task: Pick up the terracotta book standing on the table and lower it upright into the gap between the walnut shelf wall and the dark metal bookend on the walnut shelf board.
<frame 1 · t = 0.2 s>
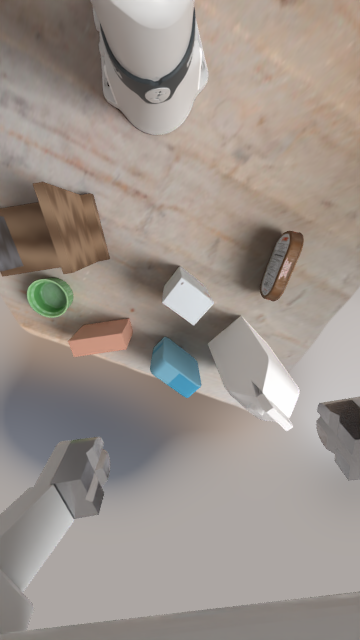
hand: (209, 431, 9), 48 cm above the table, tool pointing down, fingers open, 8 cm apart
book: (108, 328, 59), on the table
shelf stand: (52, 236, 50), on the table
tin: (271, 264, 54), on the table
milk: (238, 343, 61), on the table
ramekin: (57, 293, 55), on the table
small box: (184, 285, 55), on the table
data package: (175, 352, 62), on the table
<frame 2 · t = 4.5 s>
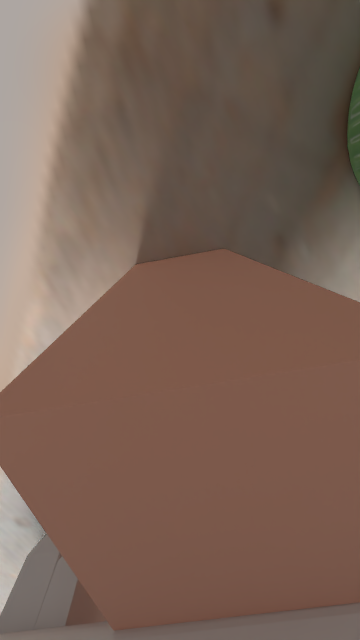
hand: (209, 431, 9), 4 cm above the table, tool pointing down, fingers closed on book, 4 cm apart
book: (198, 368, 12), on the table, touching gripper
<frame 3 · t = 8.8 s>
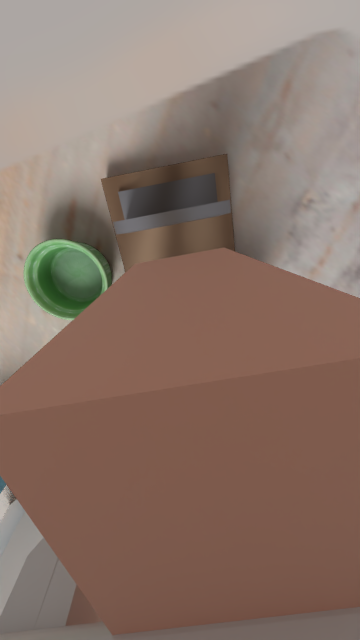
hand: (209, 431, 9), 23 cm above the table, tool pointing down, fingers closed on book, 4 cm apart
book: (198, 368, 12), point 19 cm above the table, touching gripper
shelf stand: (183, 286, 30), on the table
milk: (51, 502, 46), on the table
ramekin: (81, 274, 29), on the table
when the fingers open (7 cm above the table, at t = 13.2 s): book stays where it is, resting on shelf stand.
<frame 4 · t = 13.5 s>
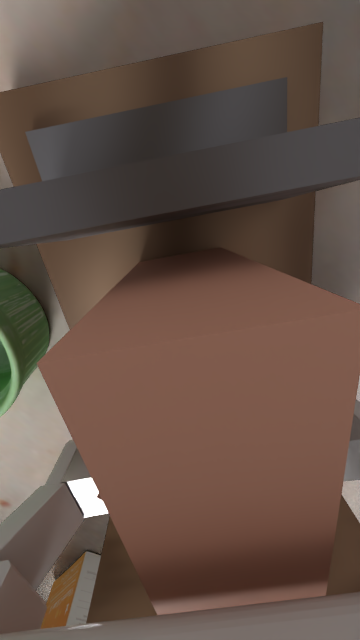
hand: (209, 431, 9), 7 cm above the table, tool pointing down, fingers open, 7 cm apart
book: (197, 359, 13), point 2 cm above the table, touching shelf stand
shelf stand: (193, 342, 15), on the table
small box: (94, 570, 26), on the table
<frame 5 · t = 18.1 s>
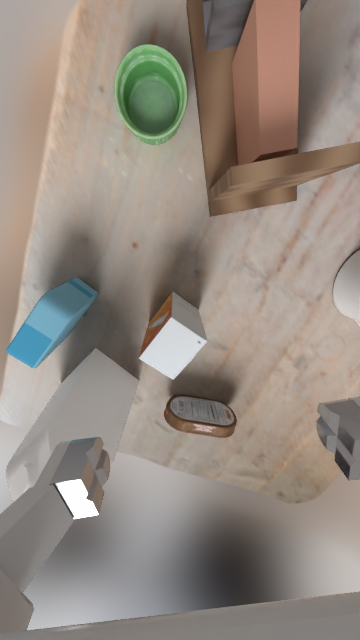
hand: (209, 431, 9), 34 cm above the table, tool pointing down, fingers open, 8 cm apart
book: (250, 119, 31), point 2 cm above the table, touching shelf stand
shelf stand: (245, 125, 33), on the table
tin: (198, 400, 51), on the table
milk: (100, 381, 49), on the table
ramekin: (153, 111, 32), on the table
small box: (173, 315, 44), on the table
data package: (73, 307, 42), on the table
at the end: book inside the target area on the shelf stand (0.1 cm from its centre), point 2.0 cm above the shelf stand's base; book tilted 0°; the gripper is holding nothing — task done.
